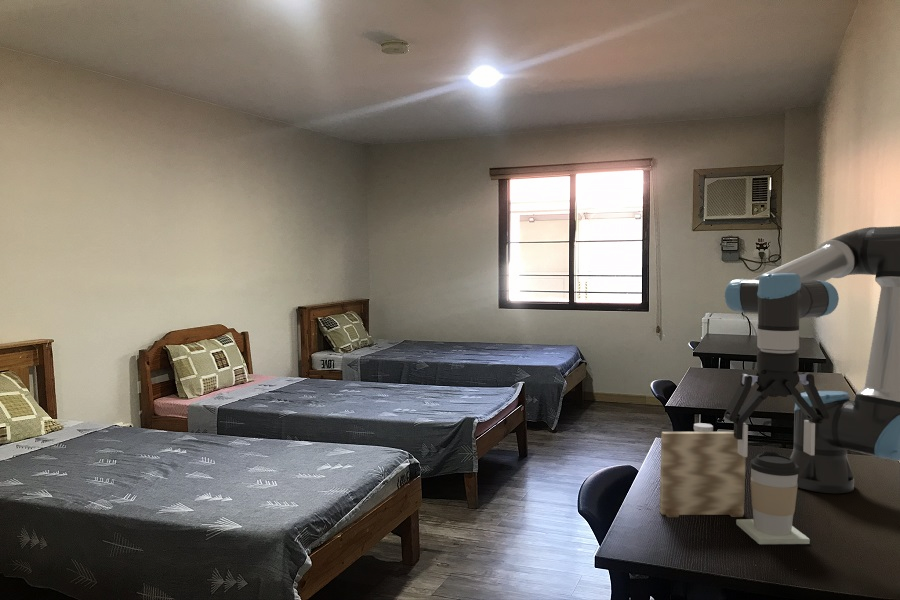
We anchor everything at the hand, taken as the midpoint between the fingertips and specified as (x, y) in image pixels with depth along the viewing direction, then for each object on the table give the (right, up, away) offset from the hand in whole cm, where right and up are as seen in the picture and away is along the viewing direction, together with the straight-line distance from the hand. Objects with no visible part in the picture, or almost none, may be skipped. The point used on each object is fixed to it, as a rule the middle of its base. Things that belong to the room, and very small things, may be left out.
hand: (775, 454), depth 135 cm
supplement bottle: (0, -14, +39) cm, 41 cm away
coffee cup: (0, -16, +1) cm, 16 cm away
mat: (0, -16, +1) cm, 16 cm away
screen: (-11, -16, +12) cm, 22 cm away
